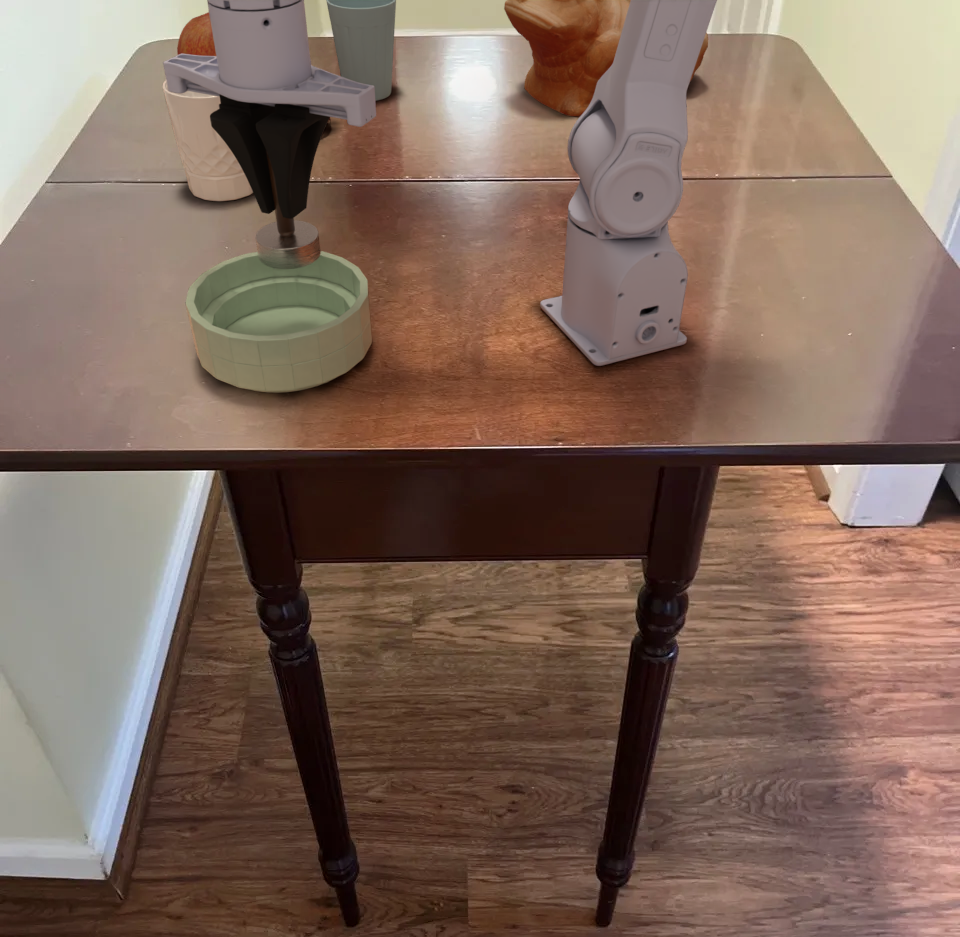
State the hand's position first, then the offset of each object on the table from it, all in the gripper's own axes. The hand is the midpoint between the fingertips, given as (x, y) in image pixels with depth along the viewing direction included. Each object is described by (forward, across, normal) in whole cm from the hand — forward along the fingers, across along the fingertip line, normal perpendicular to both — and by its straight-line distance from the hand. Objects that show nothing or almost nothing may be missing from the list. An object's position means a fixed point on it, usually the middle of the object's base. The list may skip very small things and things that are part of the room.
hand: (284, 210), depth 66 cm
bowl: (+10, 0, +2) cm, 11 cm away
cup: (+11, +21, -48) cm, 54 cm away
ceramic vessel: (+10, -4, -61) cm, 62 cm away
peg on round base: (+3, 0, 0) cm, 3 cm away
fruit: (+11, +35, -40) cm, 54 cm away
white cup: (+11, +21, -20) cm, 31 cm away
